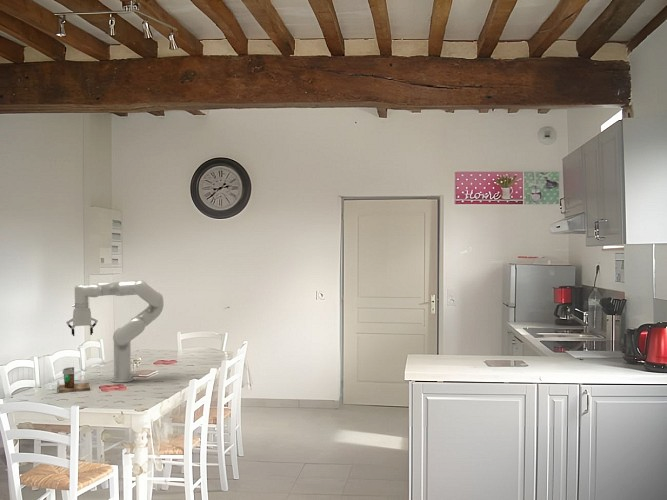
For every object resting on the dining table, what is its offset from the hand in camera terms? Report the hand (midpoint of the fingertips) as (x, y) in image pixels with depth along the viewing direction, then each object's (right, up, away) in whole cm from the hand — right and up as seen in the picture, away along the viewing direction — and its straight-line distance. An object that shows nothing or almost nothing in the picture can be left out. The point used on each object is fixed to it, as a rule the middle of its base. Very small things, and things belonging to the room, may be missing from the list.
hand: (82, 335), depth 410 cm
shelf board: (+2, -28, -17) cm, 33 cm away
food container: (-1, -27, -18) cm, 32 cm away
